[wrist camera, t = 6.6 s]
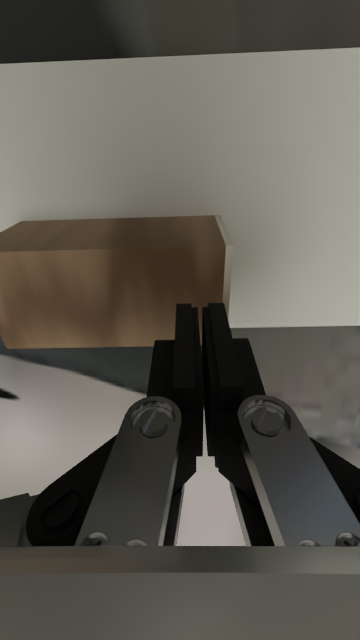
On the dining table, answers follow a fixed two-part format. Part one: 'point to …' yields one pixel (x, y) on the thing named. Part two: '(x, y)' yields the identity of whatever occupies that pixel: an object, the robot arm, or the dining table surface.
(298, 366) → the dining table surface
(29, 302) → the walnut block
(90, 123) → the white rectangular board
